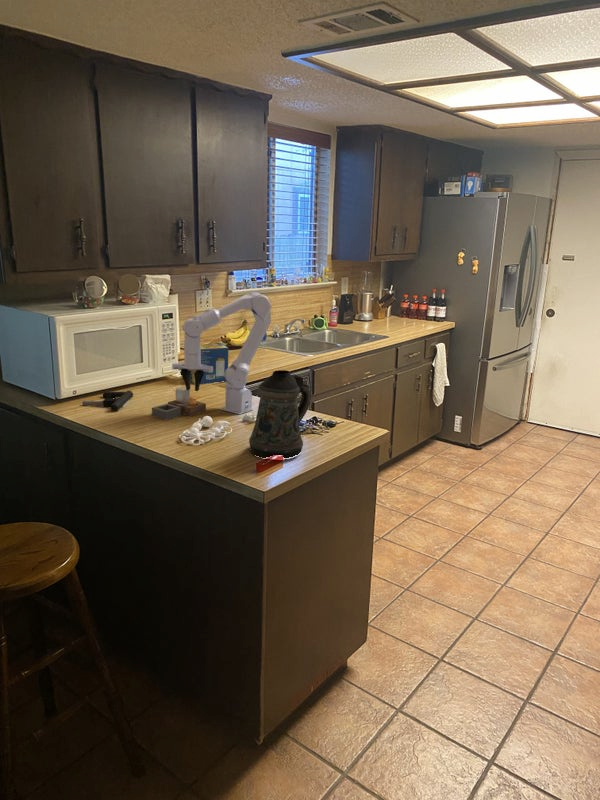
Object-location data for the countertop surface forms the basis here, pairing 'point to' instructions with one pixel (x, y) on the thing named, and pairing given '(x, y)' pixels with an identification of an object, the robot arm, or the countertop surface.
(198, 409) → the socket block
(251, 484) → the countertop surface
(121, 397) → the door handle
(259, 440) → the beer stein
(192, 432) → the tangled rod sculpture
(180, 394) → the steel peg
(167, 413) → the grey square frame
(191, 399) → the pin
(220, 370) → the protein box
